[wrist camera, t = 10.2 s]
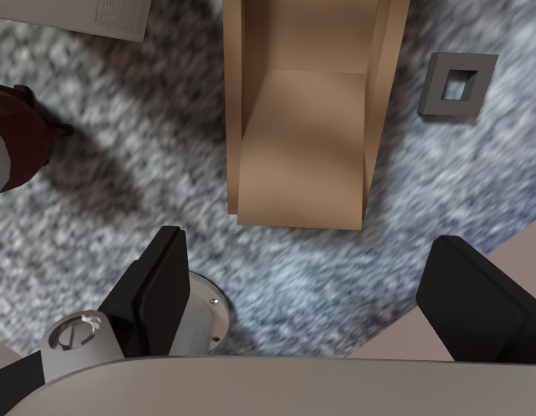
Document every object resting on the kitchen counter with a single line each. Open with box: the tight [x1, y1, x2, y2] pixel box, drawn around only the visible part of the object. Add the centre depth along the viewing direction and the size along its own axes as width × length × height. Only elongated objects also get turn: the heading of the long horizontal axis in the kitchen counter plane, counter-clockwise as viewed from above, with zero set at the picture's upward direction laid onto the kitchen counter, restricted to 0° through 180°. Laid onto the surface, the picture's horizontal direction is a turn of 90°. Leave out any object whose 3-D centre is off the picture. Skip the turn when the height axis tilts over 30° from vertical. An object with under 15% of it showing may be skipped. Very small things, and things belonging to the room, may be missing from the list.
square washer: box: [417, 52, 499, 116], centre depth 21 cm, size 4×4×1 cm
